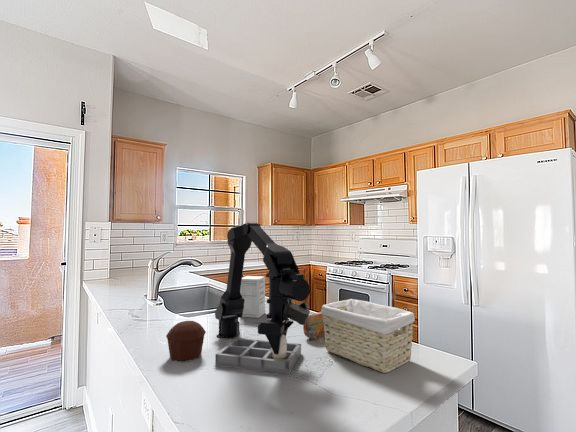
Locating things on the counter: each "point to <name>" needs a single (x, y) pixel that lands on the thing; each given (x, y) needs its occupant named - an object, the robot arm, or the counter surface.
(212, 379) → the counter surface
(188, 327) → the muffin
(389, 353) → the storage basket
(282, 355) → the egg
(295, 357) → the grey compartment tray
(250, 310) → the supplement box
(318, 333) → the tin
